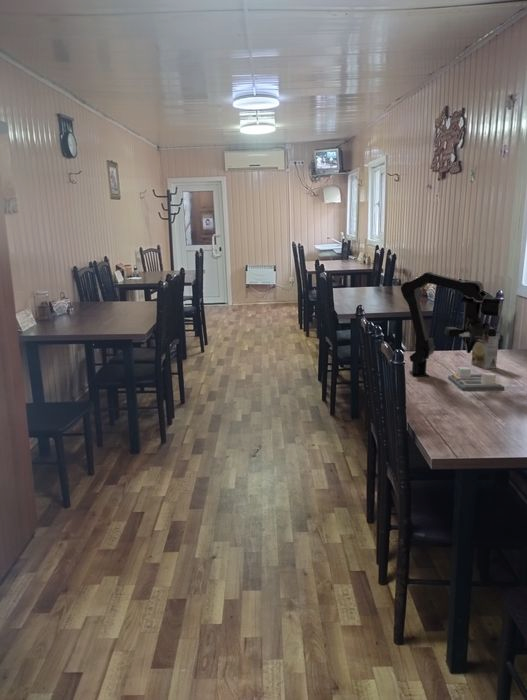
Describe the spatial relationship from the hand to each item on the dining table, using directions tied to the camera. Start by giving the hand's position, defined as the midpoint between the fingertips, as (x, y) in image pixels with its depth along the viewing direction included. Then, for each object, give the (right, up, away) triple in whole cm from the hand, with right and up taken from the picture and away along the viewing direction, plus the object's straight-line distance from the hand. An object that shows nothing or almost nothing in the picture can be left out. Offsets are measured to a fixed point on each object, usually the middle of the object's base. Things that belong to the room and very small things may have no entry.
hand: (468, 352), depth 222 cm
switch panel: (+2, -12, -1) cm, 13 cm away
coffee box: (+16, -6, +26) cm, 31 cm away
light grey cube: (-1, -10, +3) cm, 10 cm away
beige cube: (+5, -12, -6) cm, 14 cm away
